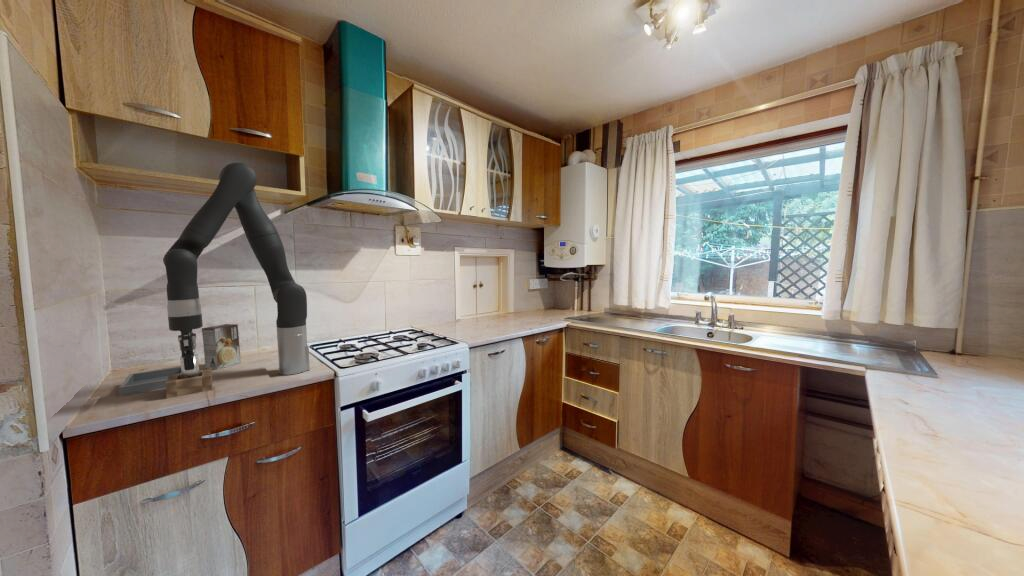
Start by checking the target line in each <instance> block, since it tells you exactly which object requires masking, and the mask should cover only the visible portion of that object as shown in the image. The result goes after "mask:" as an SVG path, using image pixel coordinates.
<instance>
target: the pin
mask: <svg viewBox="0 0 1024 576" xmlns="http://www.w3.org/2000/svg"><path fill="white" fill-rule="evenodd" d="M179 358H180V359H179V360H180V366H181V372H182V379H185V378H191V377H197V376H200V374H199V370H200V367H199V366H200V363H199V355H198V354H197V353H196V354H194V369H192V370H185V369H184V359H183V358H182V357H181V356H180V357H179Z"/></svg>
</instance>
